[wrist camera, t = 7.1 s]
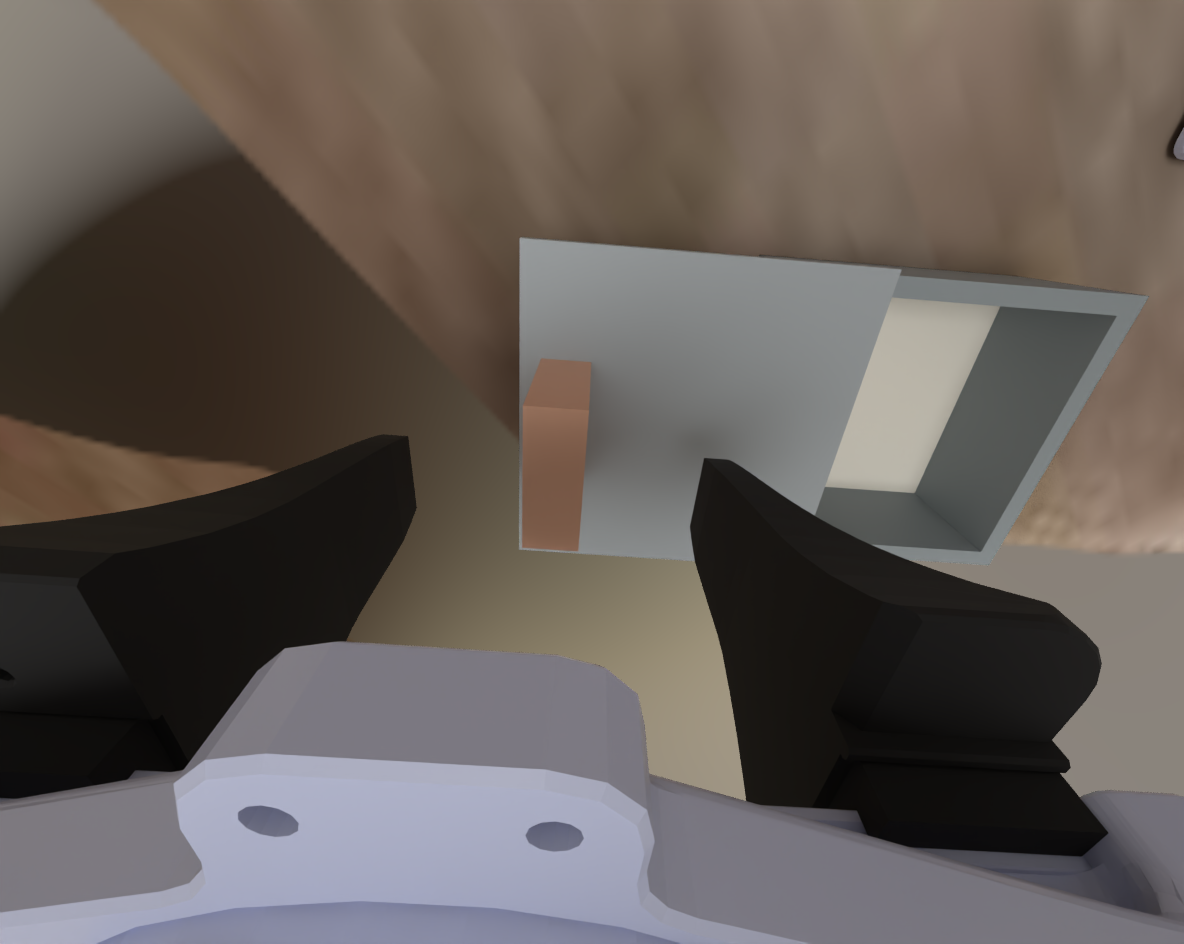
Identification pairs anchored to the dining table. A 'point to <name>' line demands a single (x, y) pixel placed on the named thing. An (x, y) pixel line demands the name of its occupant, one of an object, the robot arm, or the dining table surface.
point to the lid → (678, 384)
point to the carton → (966, 407)
